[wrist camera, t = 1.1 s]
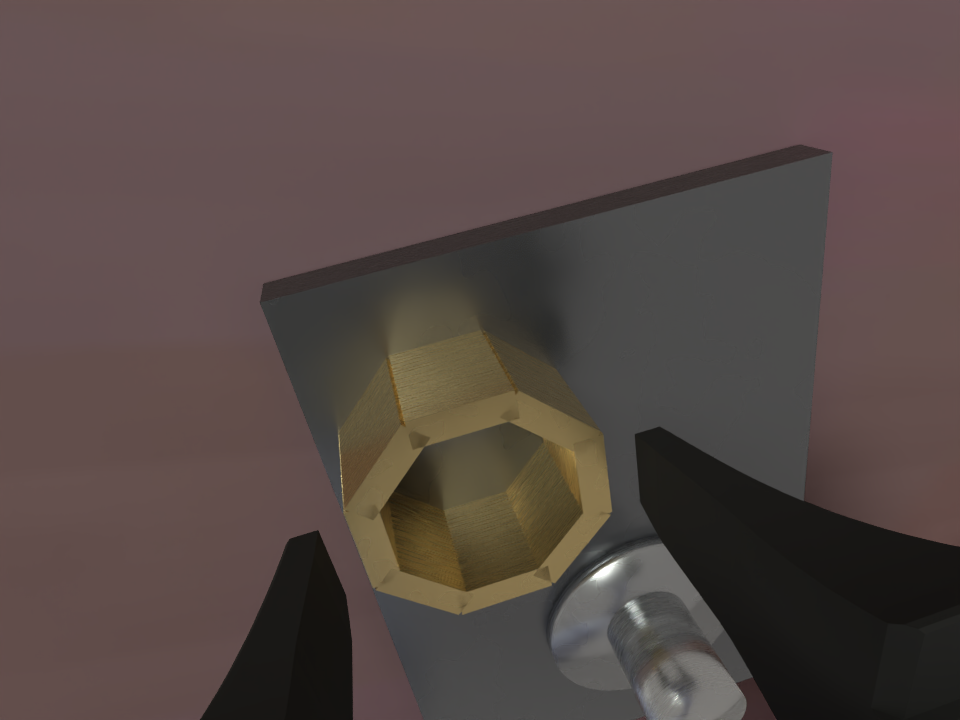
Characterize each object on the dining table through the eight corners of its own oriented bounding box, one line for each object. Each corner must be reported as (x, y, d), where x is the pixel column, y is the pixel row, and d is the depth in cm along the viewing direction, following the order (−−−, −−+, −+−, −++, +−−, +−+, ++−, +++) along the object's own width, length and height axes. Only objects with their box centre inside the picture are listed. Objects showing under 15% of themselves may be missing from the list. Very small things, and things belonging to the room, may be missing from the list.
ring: (575, 489, 19) (618, 563, 16) (380, 549, 18) (392, 637, 15) (548, 311, 16) (595, 366, 13) (316, 375, 15) (317, 447, 13)
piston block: (771, 638, 26) (866, 764, 22) (444, 754, 25) (473, 914, 20) (800, 144, 17) (981, 187, 12) (263, 283, 15) (243, 392, 11)
